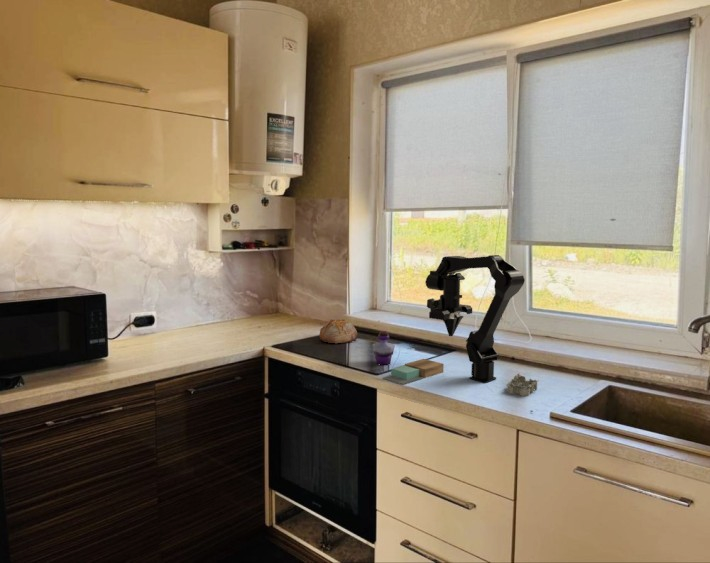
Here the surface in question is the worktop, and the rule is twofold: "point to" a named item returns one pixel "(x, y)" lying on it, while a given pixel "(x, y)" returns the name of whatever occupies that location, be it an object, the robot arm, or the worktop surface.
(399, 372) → the tile
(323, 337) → the bread
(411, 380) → the mat
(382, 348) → the potion bottle
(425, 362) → the block
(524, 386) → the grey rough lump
